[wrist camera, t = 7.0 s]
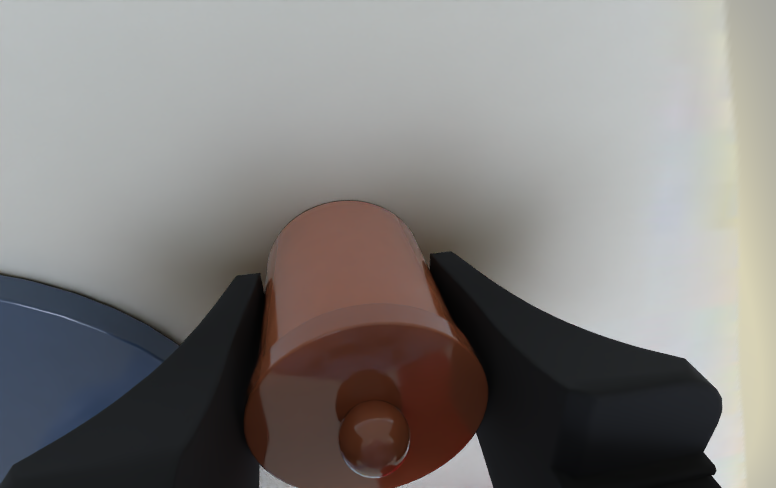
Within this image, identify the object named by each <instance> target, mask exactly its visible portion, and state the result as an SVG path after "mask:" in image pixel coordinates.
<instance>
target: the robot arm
mask: <svg viewBox="0 0 776 488" xmlns="http://www.w3.org/2000/svg"><path fill="white" fill-rule="evenodd" d="M430 272H431V274H432V276H433V279H434V281H435V283H436V285H437V287H438V289H439V292H440V294H441V296H442V298H443V300H444V302H445V305H446V307H447V309H448V311H449V313H450V315H451V318H452V320H453V322H454V324H455V326H456V327H457V328H458V329H459V330H460V331H461V332H462V333H463V334H464V335H465V336H466V337H467V339H468V340H469V342H470V343H471V344H472V346H473V348H474V350H475V352H476V354H477V356H478V358H479V360H480V362H481V364H482V367H483V369H484V371H485V373H486V377H487V382H488V403H487V409H486V412H485V415H484V418H483V420H482V422H481V424H480V426H479V428H478V430H477V431H476V434H477V437H478V440H479V443H480V446H481V449H482V452H483V455H484V459H485V462H486V465H487V468H488V472H489V475H490V478H491V481H492V485H493V488H721V486H720V485H719V484H718V483H717V482H716V480H715V479H714V478H713V477H712V476H711V475H714V474H715V473H716V468H715V465H714V464H713V463H712V462H711V461H710V459H709V458H708V457H707V456H706V455H705V454H704V450H705V448H706V446H707V444H708V442H709V440H710V438H711V436H712V434H713V432H714V430H715V428H716V426H717V424H718V422H719V419H720V416H721V413H722V398H721V396H720V394H719V392H718V391H717V389H716V388H715V387H714V386H713V385H712V384H711V383H710V382H709V381H708V380H706V379H705V378H704V377H703V376H702V375H701V374H700V373H699V372H698V371H697V370H696V369H695V368H694V367H693V366H692V365H691V364H690V363H689V362H688V361H687V360H686V359H684V358H680V357H676V356H672V355H668V354H664V353H660V352H655V351H651V350H647V349H643V348H639V347H636V346H632V345H629V344H626V343H622V342H619V341H616V340H613V339H610V338H607V337H604V336H601V335H598V334H595V333H592V332H590V331H587V330H585V329H582V328H580V327H577V326H575V325H572V324H570V323H567V322H565V321H563V320H561V319H558V318H556V317H554V316H552V315H550V314H548V313H546V312H544V311H542V310H540V309H538V308H536V307H534V306H532V305H531V304H529V303H527V302H525V301H523V300H522V299H520V298H518V297H517V296H515V295H513V294H512V293H510V292H508V291H507V290H505V289H504V288H502V287H501V286H499V285H498V284H496V283H495V282H493V281H492V280H490V279H489V278H487V277H486V276H485V275H483V274H482V273H480V272H479V271H478V270H476V269H475V268H473V267H472V266H471V265H469V264H468V263H467V262H465V261H464V260H463V259H461V258H460V257H458V256H457V255H456V254H454V253H453V252H451V251H450V252H441V253H433V254H430ZM263 303H264V291H263V286H262V281H261V276H260V273H256V274H247V275H238V276H236V277H235V278H234V280H233V281H232V282H231V284H230V285H229V286H228V288H227V289H226V290H225V292H224V293H223V294H222V296H221V297H220V299H219V300H218V301H217V302H216V304H215V305H214V306H213V308H212V309H211V310H210V311H209V313H208V314H207V315H206V316H205V318H204V319H203V320H202V321H201V323H200V324H199V325H198V326H197V327H196V329H195V330H194V331H193V332H192V333H191V334H190V335H189V336H188V337H187V339H186V340H185V341H184V342H183V343H182V344H181V345H180V346H179V347H178V348H177V349H176V350H175V351H174V352H173V353H172V354H171V355H170V356H169V357H168V358H167V359H166V360H165V361H164V362H163V363H162V364H161V365H159V366H158V367H157V368H156V369H155V370H154V371H153V372H152V373H150V374H149V375H148V376H147V377H146V378H144V379H143V380H142V381H141V382H139V383H138V384H137V385H136V386H134V387H133V388H132V389H130V390H129V391H128V392H127V393H125V394H124V395H123V396H122V397H120V398H119V399H118V400H116V401H115V402H114V403H112V404H111V405H109V406H108V407H107V408H105V409H104V410H102V411H101V412H100V413H98V414H97V415H95V416H94V417H92V418H91V419H89V420H88V421H86V422H85V423H83V424H81V425H80V426H78V427H77V428H75V429H74V430H72V431H71V432H69V433H67V434H66V435H64V436H62V437H61V438H59V439H57V440H56V441H54V442H52V443H50V444H49V445H47V446H45V447H43V448H42V449H40V450H38V451H37V452H35V453H33V454H31V455H30V456H28V457H26V458H25V459H23V460H21V461H19V462H17V463H15V464H13V466H12V467H11V469H10V470H9V472H8V473H7V475H6V476H5V478H4V479H3V481H2V482H1V484H0V488H259V467H260V464H259V463H258V462H257V460H256V459H255V457H254V456H253V455H252V453H251V451H250V449H249V447H248V445H247V442H246V439H245V435H244V430H243V416H244V408H245V400H246V393H247V387H248V384H249V381H250V378H251V375H252V373H253V372H254V370H255V368H256V366H257V361H258V351H259V341H260V332H261V322H262V312H263Z"/></svg>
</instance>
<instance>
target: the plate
mask: <svg viewBox="0 0 776 488" xmlns="http://www.w3.org/2000/svg"><path fill="white" fill-rule="evenodd" d="M178 347H179V345H178V344H177V343H175V342H174V341H172V340H170V339H169V338H167V337H166V336H164V335H163V334H161V333H160V332H158V331H156V330H155V329H153V328H152V327H150V326H149V325H147V324H145V323H143V322H141V321H139V320H137V319H135V318H133V317H131V316H129V315H127V314H125V313H123V312H121V311H119V310H117V309H115V308H113V307H110V306H107V305H105V304H102V303H100V302H97V301H94V300H92V299H89V298H87V297H84V296H81V295H79V294H76V293H73V292H70V291H66V290H63V289H59V288H56V287H52V286H49V285H45V284H42V283H38V282H35V281H31V280H25V279H20V278H15V277H10V276H5V275H0V484H1V482H2V481H3V479H4V478H5V476H6V475H7V473H8V472H9V470H10V469H11V467H12V466H13V464H15V463H17V462H19V461H21V460H23V459H25V458H26V457H28V456H30V455H31V454H33V453H35V452H37V451H38V450H40V449H42V448H43V447H45V446H47V445H49V444H50V443H52V442H54V441H56V440H57V439H59V438H61V437H62V436H64V435H66V434H67V433H69V432H71V431H72V430H74V429H75V428H77V427H78V426H80V425H81V424H83V423H85V422H86V421H88V420H89V419H91V418H92V417H94V416H95V415H97V414H98V413H100V412H101V411H102V410H104V409H105V408H107V407H108V406H109V405H111V404H112V403H114V402H115V401H116V400H118V399H119V398H120V397H122V396H123V395H124V394H125V393H127V392H128V391H129V390H130V389H132V388H133V387H134V386H136V385H137V384H138V383H139V382H141V381H142V380H143V379H144V378H146V377H147V376H148V375H149V374H150V373H152V372H153V371H154V370H155V369H156V368H157V367H158V366H159V365H161V364H162V363H163V362H164V361H165V360H166V359H167V358H168V357H169V356H170V355H171V354H172V353H173V352H174V351H175V350H176V349H177V348H178Z"/></svg>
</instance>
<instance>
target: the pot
mask: <svg viewBox="0 0 776 488" xmlns="http://www.w3.org/2000/svg"><path fill="white" fill-rule="evenodd" d="M487 403H488V382H487V377H486V373H485V371H484V369H483V367H482V364H481V362H480V360H479V358H478V356H477V354H476V352H475V350H474V348H473V346H472V344H471V343H470V342H469V340H468V339H467V337H466V336H465V335H464V334H463V333H462V332H461V331H460V330H459V329H458V328H457V327H456V326H455V324H454V322H453V320H452V318H451V315H450V313H449V311H448V309H447V307H446V305H445V302H444V300H443V298H442V296H441V294H440V292H439V289H438V287H437V285H436V283H435V281H434V279H433V276H432V274H431V272H430V270H429V268H428V266H427V263H426V261H425V259H424V257H423V255H422V253H421V251H420V248H419V246H418V244H417V242H416V240H415V238H414V235H413V234H412V232H411V231H410V229H409V228H408V227H407V225H406V224H405V223H404V222H403V221H402V220H401V219H400V218H398V217H397V216H396V215H395V214H393V213H391V212H390V211H388V210H386V209H384V208H382V207H380V206H377V205H374V204H370V203H366V202H360V201H336V202H331V203H326V204H322V205H319V206H316V207H314V208H312V209H310V210H307V211H305V212H304V213H302V214H301V215H299V216H297V217H296V218H295V219H293V220H292V221H291V222H290V223H289V224H288V225H287V226H286V227H285V228H284V229H283V230H282V231H281V232H280V234H279V235H278V237H277V238H276V240H275V242H274V244H273V246H272V248H271V251H270V254H269V258H268V264H267V274H266V283H265V293H264V303H263V312H262V322H261V332H260V341H259V351H258V361H257V366H256V368H255V370H254V372H253V373H252V375H251V378H250V381H249V384H248V387H247V393H246V400H245V408H244V416H243V430H244V435H245V439H246V442H247V445H248V447H249V449H250V451H251V453H252V455H253V456H254V457H255V459H256V460H257V462H258V463H259V464H260V465H261V466H262V467H263V468H264V469H265V470H266V471H267V472H269V473H270V474H272V475H273V476H274V477H276V478H277V479H279V480H281V481H283V482H285V483H287V484H289V485H292V486H294V487H297V488H395V487H398V486H401V485H404V484H407V483H410V482H412V481H414V480H417V479H419V478H421V477H423V476H425V475H427V474H429V473H431V472H433V471H434V470H436V469H438V468H439V467H441V466H442V465H444V464H445V463H447V462H448V461H449V460H450V459H452V458H453V457H454V456H455V455H456V454H458V453H459V452H460V451H461V450H462V449H463V448H464V447H465V446H466V444H467V443H468V442H469V441H470V440H471V439H472V437H473V436H474V434H475V433H476V431H477V430H478V428H479V426H480V424H481V422H482V420H483V418H484V415H485V412H486V409H487Z"/></svg>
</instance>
